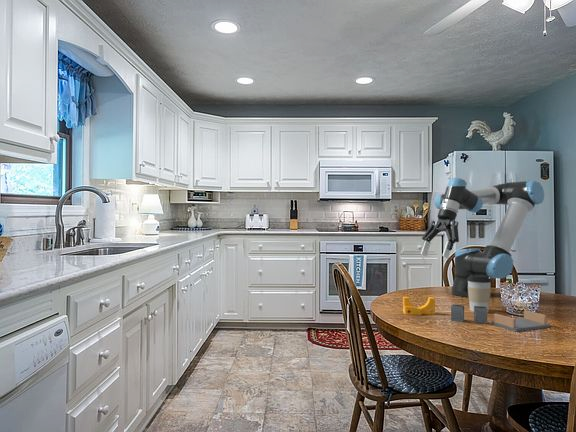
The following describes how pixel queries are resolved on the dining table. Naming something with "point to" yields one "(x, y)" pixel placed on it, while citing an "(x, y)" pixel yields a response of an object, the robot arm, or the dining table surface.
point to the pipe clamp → (412, 310)
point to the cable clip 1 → (457, 313)
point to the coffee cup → (479, 291)
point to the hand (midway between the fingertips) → (433, 256)
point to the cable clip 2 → (480, 314)
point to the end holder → (521, 321)
